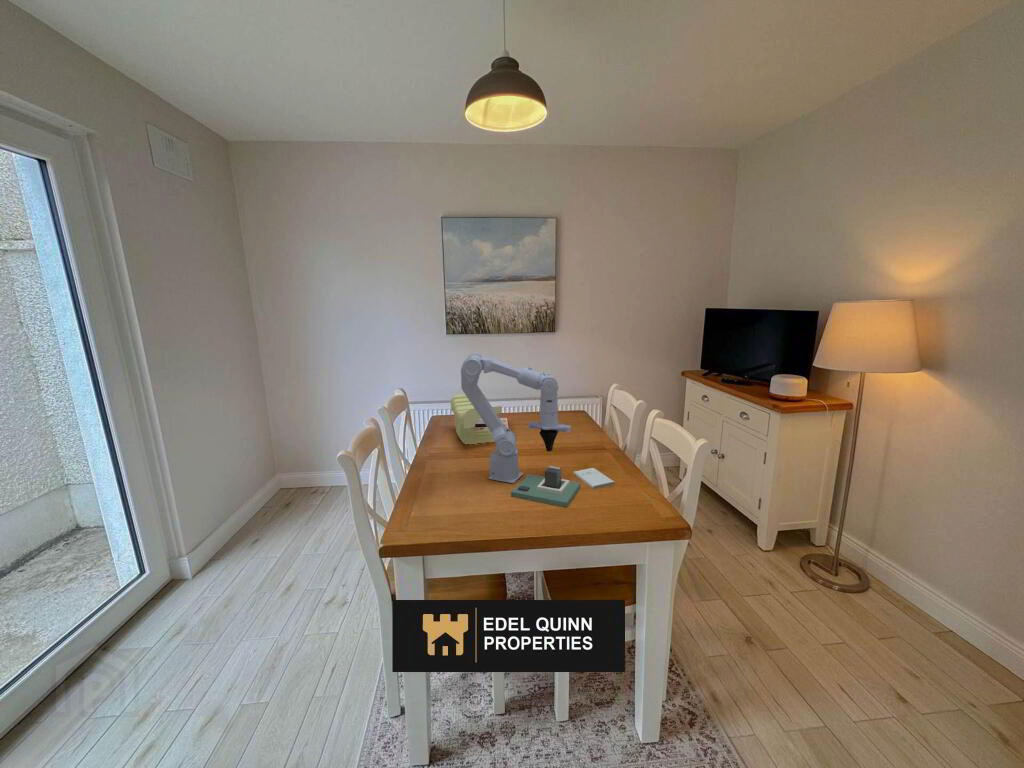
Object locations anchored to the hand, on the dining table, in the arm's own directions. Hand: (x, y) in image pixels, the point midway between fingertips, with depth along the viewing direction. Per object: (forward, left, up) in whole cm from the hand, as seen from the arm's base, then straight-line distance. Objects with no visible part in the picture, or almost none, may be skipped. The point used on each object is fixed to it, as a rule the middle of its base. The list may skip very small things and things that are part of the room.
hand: (549, 450), depth 136 cm
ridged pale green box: (-44, +24, -10) cm, 51 cm away
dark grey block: (+5, -10, -8) cm, 14 cm away
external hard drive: (+14, +4, -10) cm, 18 cm away
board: (+3, -11, -9) cm, 15 cm away
